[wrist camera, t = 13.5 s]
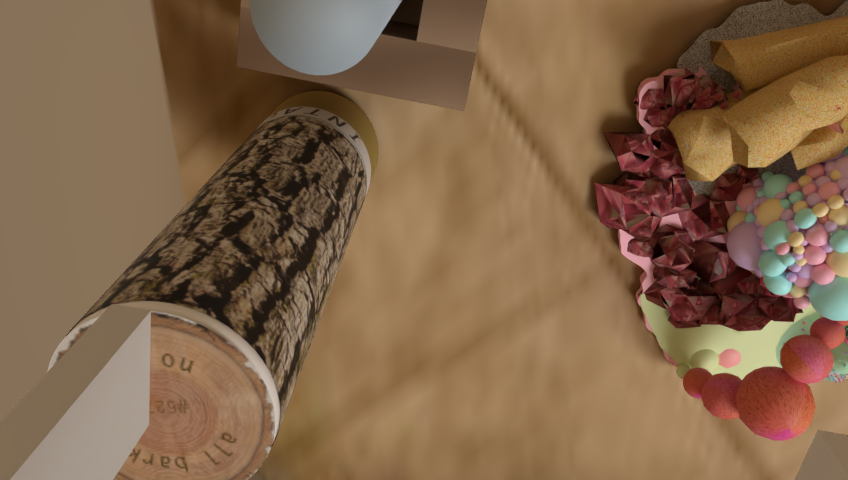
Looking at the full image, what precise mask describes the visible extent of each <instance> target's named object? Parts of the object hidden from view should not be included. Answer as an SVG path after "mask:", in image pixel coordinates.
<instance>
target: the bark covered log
mask: <svg viewBox="0 0 848 480" xmlns="http://www.w3.org/2000/svg"><path fill="white" fill-rule="evenodd" d="M377 160H378V142H377V137H376V133H375V130H374V128H373V126H372V124H371V122H370V120H369V119H368V117H367V116H366V115H365V113H364V112H363V111H362V110H361V109H360V108H359V107H358V106H357V105H355V104H354V103H353V102H351V101H350V100H348V99H346V98H345V97H342V96H340V95H338V94H335V93H331V92H326V91H308V92H303V93H299V94H296V95H294V96H292V97H290V98H288V99H286V100H285V101H284V102H282V103H281V104H280V105H279V106H278V107H277V108H276V109H275V110H274V111H273V112H272V113H271V114H270V115H269V116H268V117H267V118H266V120H264V121H263V122H262V123H261V124H260V125H259V126H258V128H257V129H256V130H255V131H254V132H253V133H252V134H251V135H250V136H249V137H248V138H247V139H246V141H245V142H244V143H243V144H242V145H241V146H240V147H239V148H238V149H237V150H236V151H235V152H234V154H233V155H232V156H231V157H230V158H229V159H228V160H227V161H226V162H225V163H224V164H223V165H222V167H221V168H220V169H219V170H218V171H217V172H216V173H215V174H214V175H213V176H212V177H211V178H210V180H209V181H208V182H207V183H206V184H205V185H204V186H203V187H202V188H201V189H200V190H199V191H198V193H197V194H196V195H195V196H194V197H193V198H192V199H191V200H190V201H189V202H188V203H187V204H186V206H185V207H184V208H183V209H182V210H181V211H180V212H179V213H178V214H177V215H176V216H175V217H174V219H173V220H172V221H171V222H170V223H169V224H168V225H167V226H166V227H165V228H164V229H163V230H162V232H161V233H160V234H159V235H158V236H157V237H156V238H155V239H154V240H153V241H152V243H150V245H149V246H148V247H147V248H146V249H145V250H144V251H143V252H142V253H141V254H140V256H138V258H137V259H136V260H135V261H134V262H133V263H132V264H131V265H130V266H129V267H128V268H127V269H126V271H125V272H124V273H123V274H122V275H121V276H120V277H119V278H118V279H117V280H116V281H115V282H114V284H113V285H112V286H111V287H110V288H109V289H108V290H107V291H106V292H105V293H104V294H103V295H102V297H101V298H100V299H99V300H98V301H97V302H96V303H95V304H94V305H93V306H92V308H90V310H89V311H88V312H87V313H86V314H85V315H84V316H83V317H82V318H81V319H80V320H79V321H78V323H77V324H76V325H75V326H74V327H73V328H72V329H71V330H70V332H69V333H68V334H67V335H66V337H65V338H64V340H63V341H62V342H61V343H60V344H59V346H58V347H57V349H56V351H55V352H54V354H53V356H52V359H51V361H50V363H49V367H48V371H49V370H50V369H51V368H52V367H53V366H54V365H55V363H56V362H57V361H58V360H59V359H60V358H61V357H62V356H63V355H64V354H65V353H66V352H67V351H68V350H69V349H70V348H71V347H72V345H73V344H74V343H75V342H76V341H77V340H78V339H79V338H80V337H81V336H82V335H83V334H84V333H85V332H86V331H87V330H88V329H89V328H90V326H91V325H92V324H93V323H94V322H95V321H96V320H97V319H98V318H99V317H100V316H101V315H102V314H103V313H104V312H105V311H106V310H107V309H108V307H109V306H110V305H111V304H116V305H122V306H127V307H133V308H139V309H144V310H150V311H151V335H150V401H149V426H148V427H147V429H146V430H145V432H144V433H143V435H142V436H141V438H140V439H139V441H138V442H137V444H136V446H135V447H134V449H133V450H132V452H131V453H130V455H129V456H128V458H127V459H126V461H125V462H124V464H123V466H122V467H121V469H120V470H119V472H118V473H117V475H116V476H115V478H114V479H113V480H247V479H249V478H250V477H251V476H252V475H253V474H254V473H255V472H256V471H257V470H258V469H259V468H260V467H261V466H262V464H263V463H264V461H265V460H266V458H267V456H268V454H269V452H270V450H271V447H272V445H273V443H274V441H275V439H276V437H277V434H278V431H279V429H280V426H281V423H282V420H283V418H284V415H285V412H286V410H287V407H288V404H289V402H290V399H291V396H292V393H293V391H294V388H295V385H296V383H297V380H298V377H299V375H300V372H301V369H302V366H303V364H304V361H305V358H306V356H307V353H308V350H309V348H310V345H311V342H312V339H313V337H314V334H315V331H316V329H317V326H318V323H319V321H320V318H321V315H322V312H323V310H324V307H325V304H326V302H327V299H328V296H329V294H330V291H331V288H332V285H333V283H334V280H335V277H336V275H337V272H338V269H339V267H340V264H341V261H342V259H343V256H344V253H345V250H346V248H347V245H348V242H349V240H350V237H351V234H352V232H353V229H354V226H355V223H356V221H357V218H358V215H359V213H360V210H361V207H362V205H363V202H364V199H365V196H366V194H367V191H368V188H369V184H370V182H371V179H372V176H373V174H374V171H375V168H376V165H377ZM48 371H47V372H48Z"/></svg>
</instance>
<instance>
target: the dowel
mask: <svg viewBox="0 0 848 480" xmlns="http://www.w3.org/2000/svg"><path fill="white" fill-rule="evenodd" d="M401 2H402V0H250V11H251V17H252V21H253V24H254V27H255V30H256V32H257V34H258V36H259V38H260V40H261V41H262V43H263V44H264V46H265V47H266V48H267V49H268V51H269V52H270V53H271V54H272V55H273V56H274V57H275V58H276V59H277V60H279V61H280V62H282V63H283V64H284V65H286V66H288V67H290V68H291V69H294V70H296V71H299V72H302V73H305V74H310V75H331V74H336V73H339V72H342V71H345V70H347V69H349V68H351V67H352V66H354V65H356V64H357V63H358V62H359V61H361V60H362V59H363V58H364V57H365V56H366V54H367V53H368V52H369V51H370V49H371V48H372V46H373V45H374V43H375V42H376V40H377V39H378V37H379V36H380V34H381V32H382V31H383V29H384V28H385V26H386V25H387V23H388V22H389V20H390V19H391V17H392V15H393V14H394V12H395V11H396V9H397V8H398V6H399V5H400V3H401Z"/></svg>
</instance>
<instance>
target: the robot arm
mask: <svg viewBox="0 0 848 480" xmlns="http://www.w3.org/2000/svg"><path fill="white" fill-rule="evenodd" d="M150 335H151V311H150V310H144V309H139V308H133V307H127V306H122V305H116V304H111V305H110V306H109V307H108V309H107V310H106V311H105V312H104V313H103V314H102V315H101V316H100V317H99V318H98V319H97V320H96V321H95V322H94V323H93V324H92V325H91V326H90V328H89V329H88V330H87V331H86V332H85V333H84V334H83V335H82V336H81V337H80V338H79V339H78V340H77V341H76V342H75V343H74V344H73V345H72V347H71V348H70V349H69V350H68V351H67V352H66V353H65V354H64V355H63V356H62V357H61V358H60V359H59V360H58V361H57V362H56V363H55V365H54V366H53V367H52V368H51V369H50V370H49V371H48V372H47V373H46V374H45V375H44V376H43V377H42V378H41V379H40V381H39V382H38V383H37V384H36V385H35V386H34V387H33V388H32V389H31V390H30V391H29V392H28V393H27V394H26V395H25V396H24V398H22V399H21V400H20V402H19V403H18V404H17V405H16V406H15V407H14V408H13V409H12V410H11V411H10V412H9V413H8V414H7V415H6V416H5V417H4V419H3V420H2V421H1V422H0V480H113V479H114V478H115V476H116V475H117V473H118V472H119V470H120V469H121V467H122V466H123V464H124V462H125V461H126V459H127V458H128V456H129V455H130V453H131V452H132V450H133V449H134V447H135V446H136V444H137V442H138V441H139V439H140V438H141V436H142V435H143V433H144V432H145V430H146V429H147V427H148V426H149V401H150ZM795 480H848V435H844V434H838V433H833V432H827V431H822V430H818V431H817V433H816V435H815V437H814V440H813V442H812V444H811V446H810V448H809V450H808V452H807V455H806V457H805V459H804V461H803V463H802V465H801V467H800V470H799V472H798V474H797V476H796V478H795Z"/></svg>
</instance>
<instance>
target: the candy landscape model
mask: <svg viewBox="0 0 848 480" xmlns="http://www.w3.org/2000/svg"><path fill="white" fill-rule="evenodd" d="M633 102H634V103H635V104H636V107H637V113H636V118H637V120H638V121H639V123H640V124H641V126H643V129H642V132H641V133H629V132H604V134H605V136H606V138H607V141H608V143H609V145H610V147H611V149H612V151H613V153H614V155H615V158H616V160H617V162H618V164H619V166H620V168H621V170H622V171H629V172H627V173H626V174H624V175H623V176H621V177H620V178H618V179H617V180H615V181H614V185H611V184H602V183H595V190H596V197H597V203H598V210H599V217H600V222H601V223H602V224H604V225H605V226H607V227H609V228H616V229H618V238H619V248H620V250H621V253H622V254H623V255H624V256H625V257H626V258H628V259H629V260H631V261H632V262H634V263H636V264H637V265H639V266H640V267H642V268H643V269H644V272H643V273H642V274H641V276H640V283H641V286H640V288H639V289H638V291H637V292H636V299H637V302H638V304H639V305H640V306H641V308H642V311H643V320H644V323H645V325H646V328H647V329H648V330H649V331H651V332H652V333H654V334H655V336H656V339H657V341H658V344H659V346H660V347H661V348H662V349H663V353H664V356H665V358H666V359H667V360H668V361H669V362H671V363H672V364H673V365H675V366H676V367H677V369H676V373H677V375H678V376H679V377H680V378H682V379H683V386H684V389H685V390H686V392H687V393H688V394H689V395H690V396H692V397H695V398H702V401H703V404H704V406H705V407H706V409H707V410H708V411H709V412H710V413H711V414H712V415H714V416H716V417H719V418H722V419H725V420H727V419H733V418H738V417H740V419H741V420H742V421H743V422H744V423H745V425H746V426H747V427H748V428H749V429H750V430H751V431H752V432H753V433H754V434H756V435H759V436H762V437H765V438H768V439H771V440H788V439H791V438H795V437H796V436H798V435H800V434H801V433H803V432H804V431H805V430H806V429H807V428H808V427H809V426H810V423H811V421H812V418H813V414H814V411H815V403H814V398H813V395H812V392H811V389H810V387H809V386H808V385H807V384H808V383H815V382H819V381H822V380H824V379H825V380H826V379H827V380H829V381H832V382H833V381H835V382H836V383H837V380H839V382H841V380H842V378H843V380H845V379H847V378H848V374H846V373H848V0H846V1H845V2H844V3H843V4H842V5H841V6H840V7H839V8H838V9H837V10H836V11H835V12H834V13H833V14H831V15H829V16H824V15H822V14H821V13H820V12H819V11H817V10H816V9H815V8H814V7H812V6H811V5H809V4H806V3H801V4H797V5H790V4H788V3H787V2H785V1H783V0H772V1H768V2H758V3H755V4H752V5H743V6H740V7H739V8H737V9H736V10H735V11H734V12H733V13H732V14H731V15H730V16H729V17H728V18H727V19H726V21H725V22H724V23H723V24H722V25H721V26H719V27H717V28H713V29H708V30H706V31H704V32H703V33H702V34H701V35H700V36H699V37H698V38H697V40H696V41H695V42H694V43H693V44H692V46H691V47H690V48H689V49H688V50H687V51H686V52H684V53H683V54H682V55H681V56H680V58H679V60H678V62H677V69H667V70H665V71H664V72H662V73H661V74H660V75H659V76H657V77H650V78H646V79H645V80H643V81H642V82H641V83H639V85H638V88H637V92H636V95H635V98H634V101H633ZM829 374H833V375H829ZM835 374H836V376H835ZM837 374H838V376H839V374H840V375H842V376H843V377H842V376H841V377H840V378H839V379H838V377H837ZM830 376H831V377H830ZM834 376H835V377H837V378H835V377H834ZM833 378H834V379H833Z"/></svg>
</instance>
